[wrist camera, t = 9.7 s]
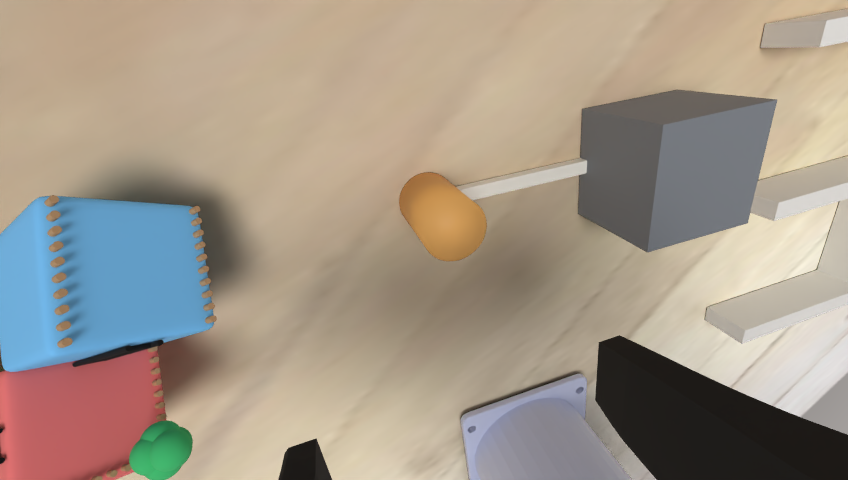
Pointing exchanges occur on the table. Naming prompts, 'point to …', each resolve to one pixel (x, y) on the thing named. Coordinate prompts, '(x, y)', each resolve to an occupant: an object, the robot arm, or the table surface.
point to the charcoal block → (625, 174)
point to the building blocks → (95, 336)
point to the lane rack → (792, 194)
